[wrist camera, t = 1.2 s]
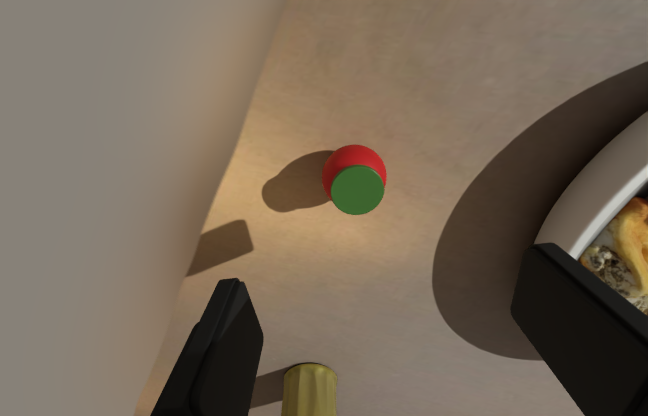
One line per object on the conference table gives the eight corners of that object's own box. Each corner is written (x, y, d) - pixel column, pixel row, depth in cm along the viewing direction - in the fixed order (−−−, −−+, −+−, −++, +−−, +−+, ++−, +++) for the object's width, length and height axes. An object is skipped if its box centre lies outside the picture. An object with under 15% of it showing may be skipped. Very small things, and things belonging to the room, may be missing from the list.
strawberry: (317, 140, 19) (316, 163, 15) (377, 132, 18) (392, 152, 14) (326, 194, 20) (326, 226, 17) (380, 186, 20) (394, 218, 16)
